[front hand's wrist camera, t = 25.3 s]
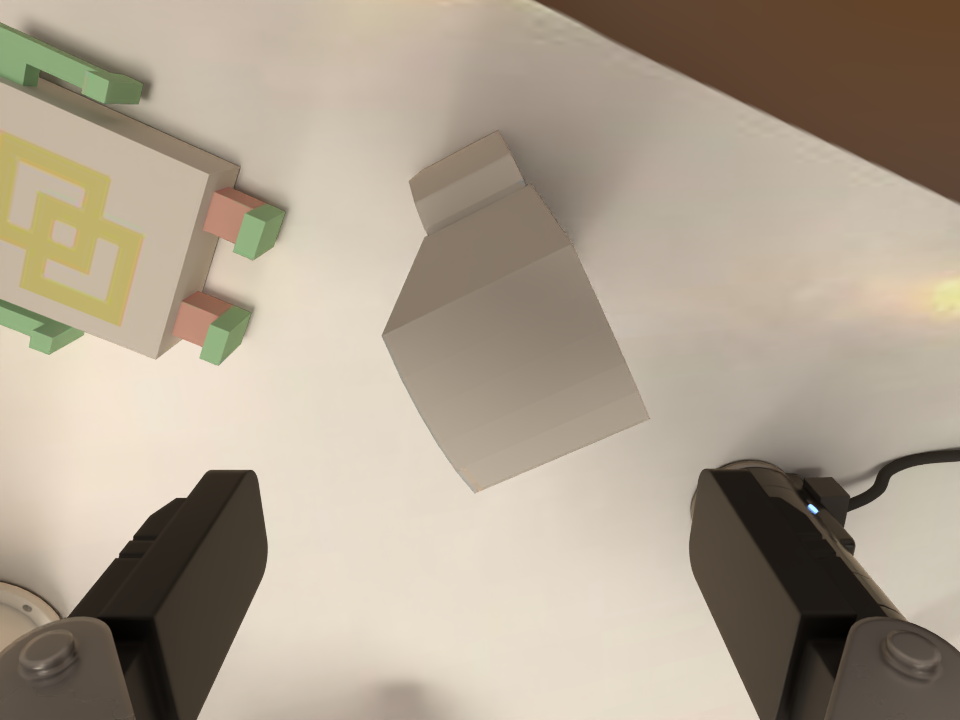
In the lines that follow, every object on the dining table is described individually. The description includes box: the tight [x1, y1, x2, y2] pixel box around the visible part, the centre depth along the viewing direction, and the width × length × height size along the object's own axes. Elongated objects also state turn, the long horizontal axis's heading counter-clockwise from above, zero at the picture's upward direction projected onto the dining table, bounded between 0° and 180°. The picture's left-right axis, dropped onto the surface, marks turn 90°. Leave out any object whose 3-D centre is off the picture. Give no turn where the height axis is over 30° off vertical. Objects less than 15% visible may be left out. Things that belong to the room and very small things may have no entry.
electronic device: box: [382, 130, 650, 493], centre depth 34 cm, size 12×8×30 cm, turn 27°
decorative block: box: [0, 22, 285, 366], centre depth 44 cm, size 26×6×20 cm
